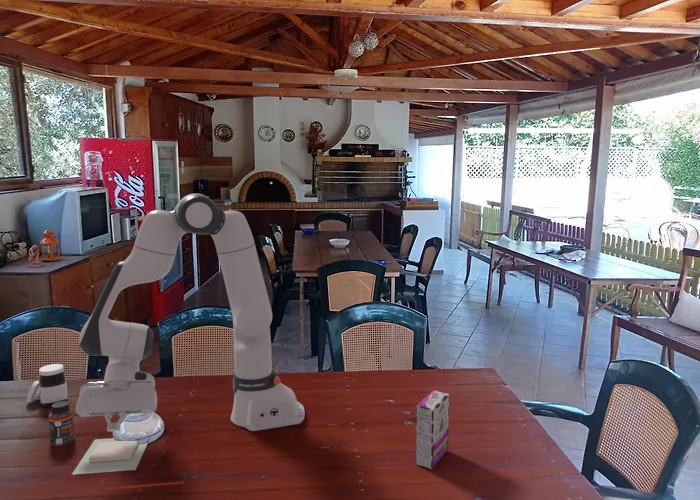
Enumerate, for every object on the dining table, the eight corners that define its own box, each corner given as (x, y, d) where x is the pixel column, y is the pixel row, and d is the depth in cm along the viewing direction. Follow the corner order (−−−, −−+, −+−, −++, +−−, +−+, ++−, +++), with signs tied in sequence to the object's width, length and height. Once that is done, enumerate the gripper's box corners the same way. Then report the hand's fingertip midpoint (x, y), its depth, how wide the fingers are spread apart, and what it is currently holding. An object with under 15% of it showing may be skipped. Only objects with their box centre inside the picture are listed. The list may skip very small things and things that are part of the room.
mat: (151, 437, 146) (151, 435, 146) (135, 471, 129) (135, 469, 129) (94, 441, 143) (94, 439, 143) (71, 476, 127) (71, 474, 127)
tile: (137, 439, 141) (129, 455, 133) (138, 444, 141) (130, 460, 133) (99, 442, 139) (88, 458, 131) (99, 446, 139) (89, 463, 132)
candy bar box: (431, 445, 142) (433, 389, 139) (448, 450, 139) (450, 393, 137) (414, 464, 132) (415, 404, 130) (432, 470, 130) (434, 409, 127)
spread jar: (69, 404, 166) (66, 370, 164) (28, 413, 160) (24, 377, 158) (65, 391, 176) (62, 358, 174) (26, 399, 169) (23, 365, 168)
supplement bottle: (64, 449, 139) (61, 409, 137) (45, 447, 140) (41, 407, 139) (80, 438, 145) (77, 400, 143) (61, 436, 146) (58, 398, 144)
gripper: (78, 378, 140) (66, 429, 131) (156, 373, 143) (150, 423, 135) (85, 387, 145) (74, 437, 136) (160, 382, 148) (155, 431, 140)
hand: (113, 430), depth 135 cm, fingers closed
